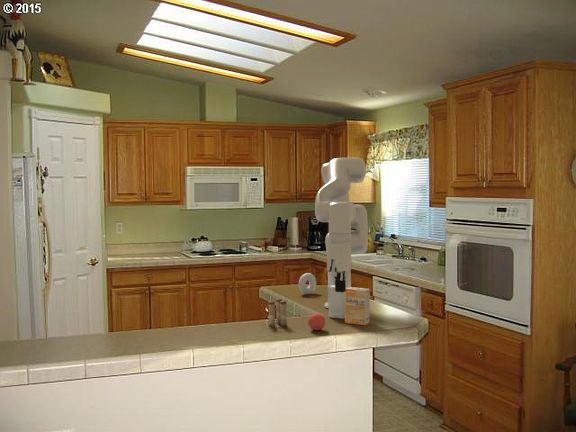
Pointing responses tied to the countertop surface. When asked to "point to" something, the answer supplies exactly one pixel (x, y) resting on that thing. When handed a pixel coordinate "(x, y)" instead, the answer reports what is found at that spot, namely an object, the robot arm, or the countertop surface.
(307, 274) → the donut
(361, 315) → the supplement box
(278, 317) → the pin
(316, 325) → the ball
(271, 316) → the pin
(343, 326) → the countertop surface
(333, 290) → the skincare box
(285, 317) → the front pin
